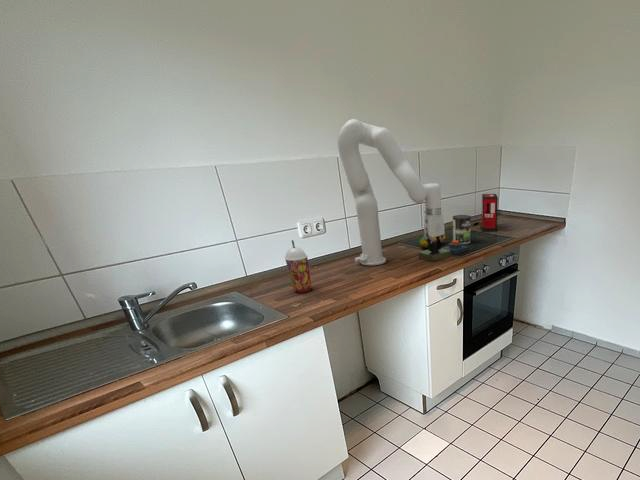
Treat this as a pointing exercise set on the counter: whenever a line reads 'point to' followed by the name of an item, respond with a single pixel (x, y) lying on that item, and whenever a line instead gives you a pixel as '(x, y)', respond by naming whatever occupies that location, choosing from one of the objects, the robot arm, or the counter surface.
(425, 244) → the corn
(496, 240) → the counter surface
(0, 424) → the counter surface
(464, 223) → the coffee can
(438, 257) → the panel
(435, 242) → the knob
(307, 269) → the smoothie
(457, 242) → the button
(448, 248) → the button box
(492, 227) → the cleaning product box
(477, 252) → the counter surface
